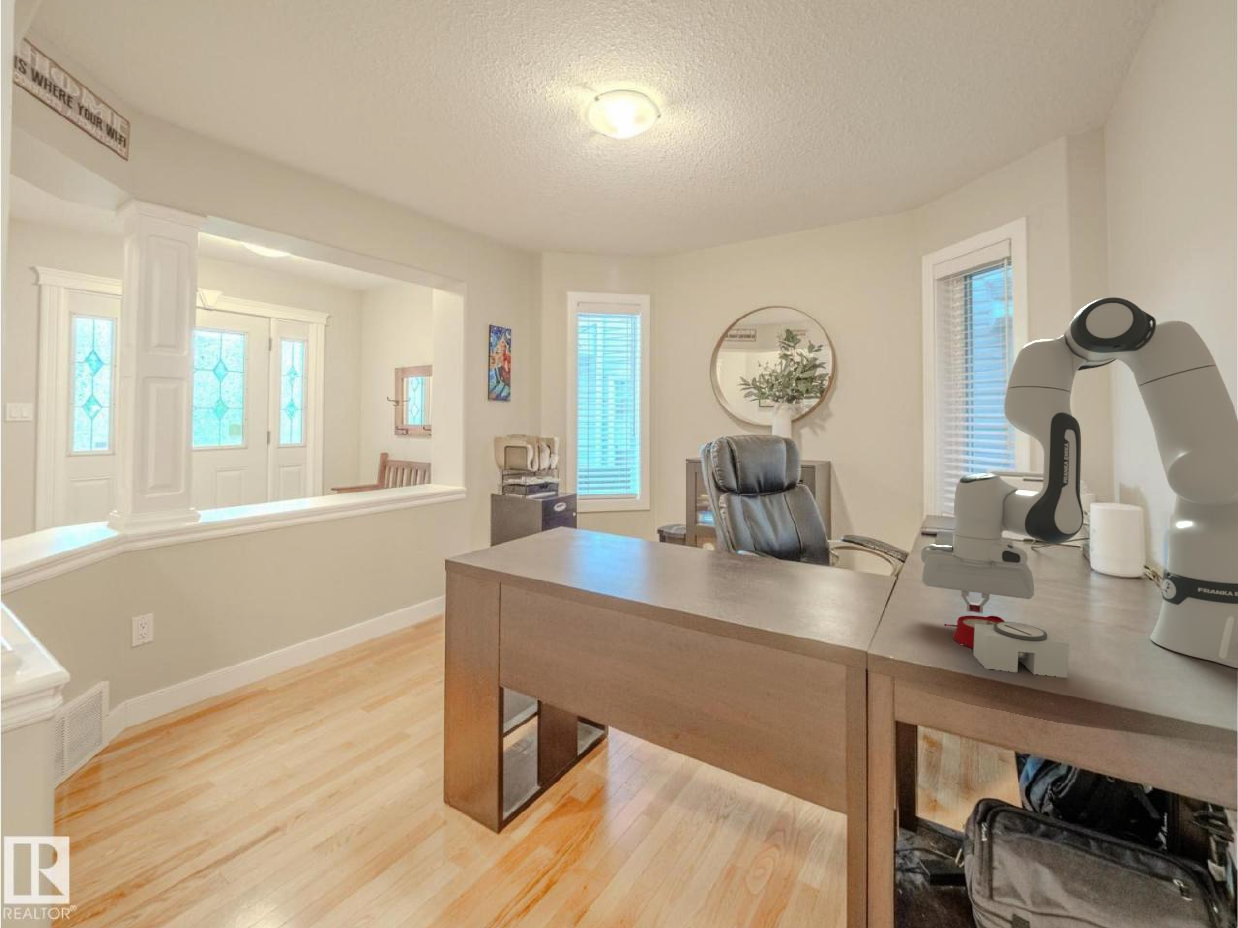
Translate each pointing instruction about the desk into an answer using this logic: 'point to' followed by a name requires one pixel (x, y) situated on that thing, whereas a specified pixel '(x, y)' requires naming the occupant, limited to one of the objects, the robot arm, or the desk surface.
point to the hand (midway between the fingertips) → (974, 611)
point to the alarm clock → (971, 627)
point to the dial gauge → (1021, 648)
